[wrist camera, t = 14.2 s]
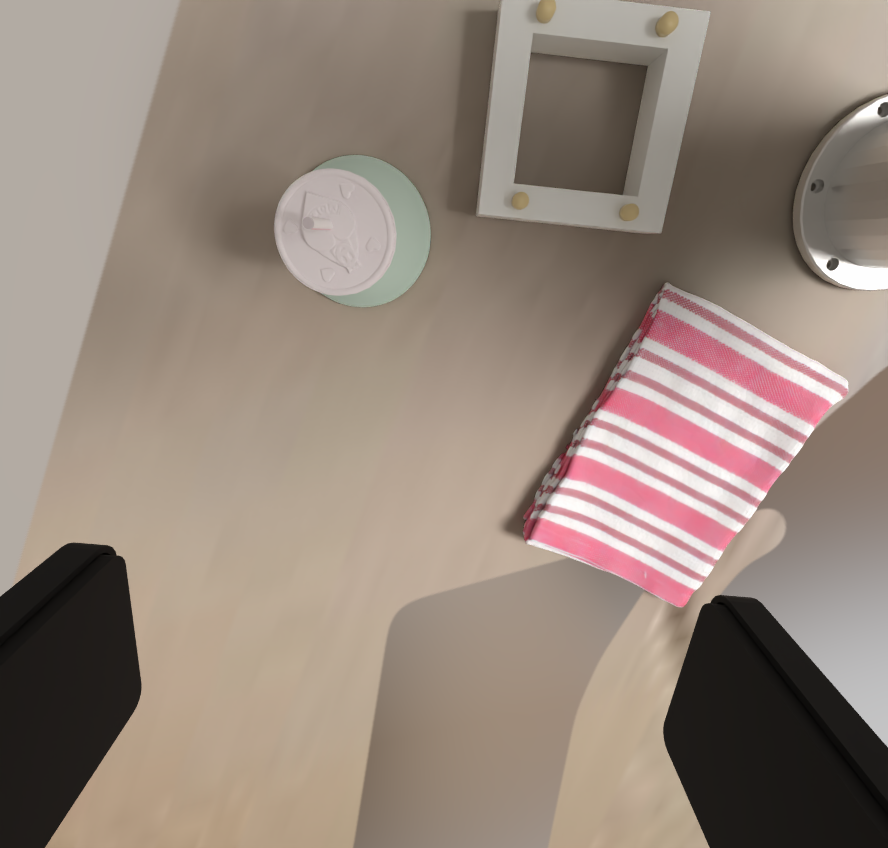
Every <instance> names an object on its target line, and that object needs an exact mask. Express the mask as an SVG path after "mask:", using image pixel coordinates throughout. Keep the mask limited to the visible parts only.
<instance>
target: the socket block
mask: <svg viewBox="0 0 888 848" xmlns="http://www.w3.org/2000/svg"><path fill="white" fill-rule="evenodd" d="M710 14H711V11H703V10H695V9H686V8H678V7H670V6H661V5H653V4H645V3H636V2H628V1H619V0H500V5H499V9H498V16H497V25H496V35H495V44H494V53H493V62H492V71H491V80H490V90H489V99H488V108H487V117H486V126H485V135H484V145H483V154H482V163H481V172H480V181H479V190H478V200H477V209H476V216H478V217H488V218H498V219H507V220H517V221H526V222H536V223H545V224H555V225H565V226H574V227H584V228H593V229H603V230H612V231H622V232H632V233H641V234H652V233H661V232H662V228H663V223H664V219H665V215H666V210H667V206H668V201H669V197H670V192H671V188H672V183H673V179H674V174H675V170H676V165H677V161H678V157H679V152H680V148H681V143H682V139H683V134H684V130H685V125H686V121H687V116H688V112H689V107H690V103H691V98H692V94H693V90H694V85H695V81H696V76H697V72H698V67H699V63H700V58H701V54H702V49H703V45H704V40H705V36H706V32H707V27H708V23H709V18H710ZM531 52H532V53H541V54H549V55H558V56H567V57H575V58H584V59H593V60H601V61H610V62H619V63H627V64H636V65H645V66H648V68H647V74H646V79H645V84H644V89H643V94H642V99H641V104H640V109H639V114H638V120H637V125H636V130H635V135H634V140H633V145H632V150H631V155H630V160H629V166H628V171H627V176H626V181H625V186H624V191H623V195H617V194H608V193H598V192H589V191H579V190H570V189H561V188H551V187H542V186H533V185H523V184H514V178H515V170H516V162H517V154H518V147H519V139H520V131H521V124H522V116H523V108H524V100H525V93H526V85H527V77H528V70H529V62H530V54H531Z"/></svg>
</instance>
